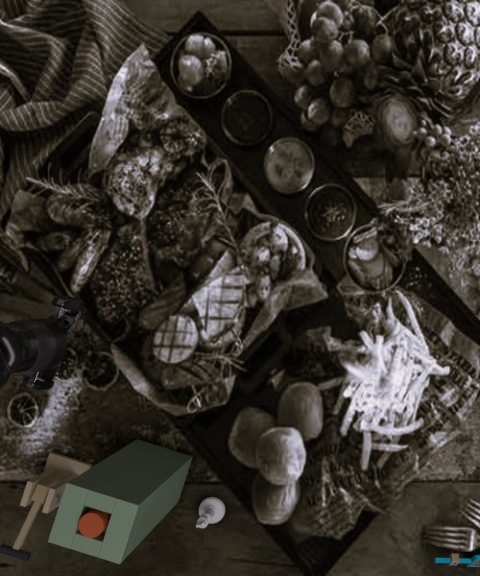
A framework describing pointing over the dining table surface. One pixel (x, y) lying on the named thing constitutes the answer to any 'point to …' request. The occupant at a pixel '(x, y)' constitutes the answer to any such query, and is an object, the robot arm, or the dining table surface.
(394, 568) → the dining table surface
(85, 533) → the button
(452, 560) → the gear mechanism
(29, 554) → the lever
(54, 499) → the switch bracket
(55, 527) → the button post
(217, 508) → the chess piece
